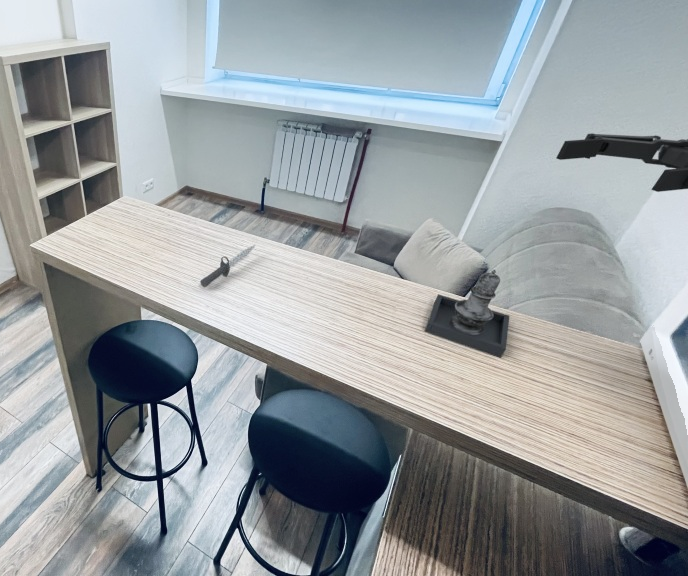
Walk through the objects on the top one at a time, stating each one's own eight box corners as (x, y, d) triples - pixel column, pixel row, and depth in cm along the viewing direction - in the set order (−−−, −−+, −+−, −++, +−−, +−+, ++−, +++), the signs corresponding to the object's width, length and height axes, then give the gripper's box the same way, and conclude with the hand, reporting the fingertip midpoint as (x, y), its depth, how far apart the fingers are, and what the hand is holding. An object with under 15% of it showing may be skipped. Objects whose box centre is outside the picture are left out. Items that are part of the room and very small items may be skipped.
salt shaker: (490, 338, 71) (523, 281, 64) (453, 333, 72) (481, 277, 66) (478, 317, 76) (507, 262, 69) (443, 313, 77) (468, 259, 70)
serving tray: (504, 324, 75) (509, 315, 74) (500, 357, 68) (506, 348, 67) (434, 302, 81) (438, 294, 80) (424, 331, 74) (428, 322, 73)
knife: (250, 251, 97) (252, 233, 94) (259, 254, 96) (260, 236, 93) (198, 289, 87) (198, 270, 84) (207, 294, 85) (207, 275, 82)
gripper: (826, 211, 53) (693, 226, 50) (623, 154, 73) (520, 162, 70) (882, 153, 49) (740, 166, 46) (650, 109, 69) (542, 116, 66)
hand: (606, 164), depth 58 cm, fingers open, 13 cm apart
